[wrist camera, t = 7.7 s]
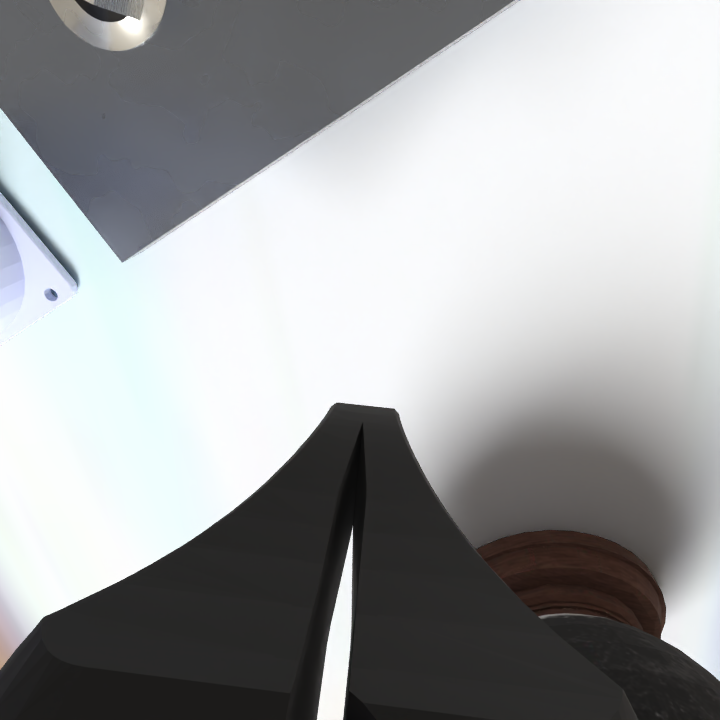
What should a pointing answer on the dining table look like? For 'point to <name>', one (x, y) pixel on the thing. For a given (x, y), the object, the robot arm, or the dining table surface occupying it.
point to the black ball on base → (606, 617)
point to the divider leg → (121, 7)
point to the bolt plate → (200, 91)
